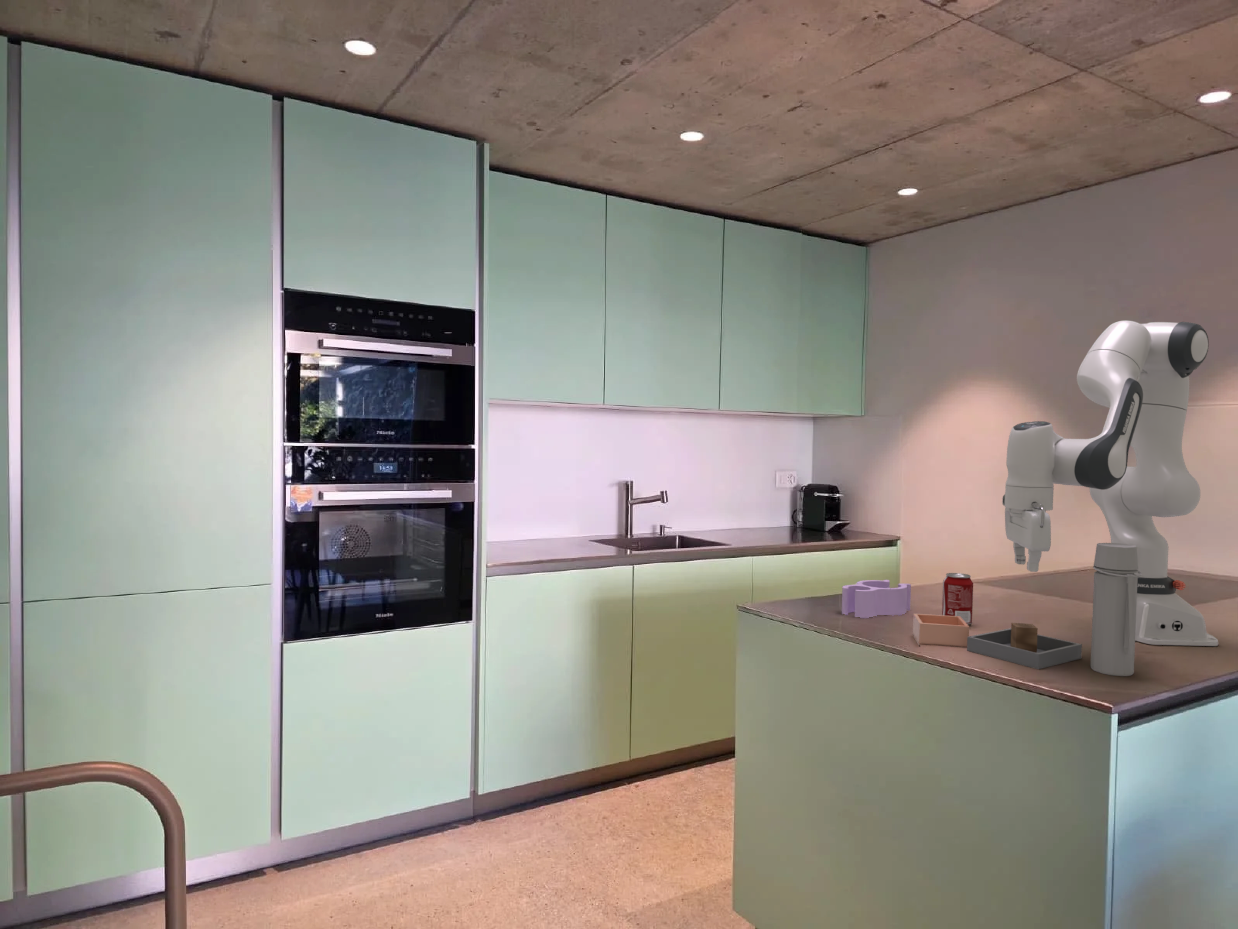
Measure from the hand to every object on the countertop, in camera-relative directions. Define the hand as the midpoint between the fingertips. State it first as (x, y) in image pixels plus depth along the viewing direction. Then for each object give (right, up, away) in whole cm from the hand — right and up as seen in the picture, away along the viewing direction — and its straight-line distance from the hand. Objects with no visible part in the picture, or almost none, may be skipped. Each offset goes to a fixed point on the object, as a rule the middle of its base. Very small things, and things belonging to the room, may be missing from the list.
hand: (1026, 567), depth 166 cm
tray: (0, -19, +1) cm, 19 cm away
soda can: (-2, -18, +30) cm, 35 cm away
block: (0, -18, +1) cm, 18 cm away
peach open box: (-13, -18, +12) cm, 25 cm away
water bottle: (+11, -20, -11) cm, 25 cm away
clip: (-18, -17, +42) cm, 49 cm away
